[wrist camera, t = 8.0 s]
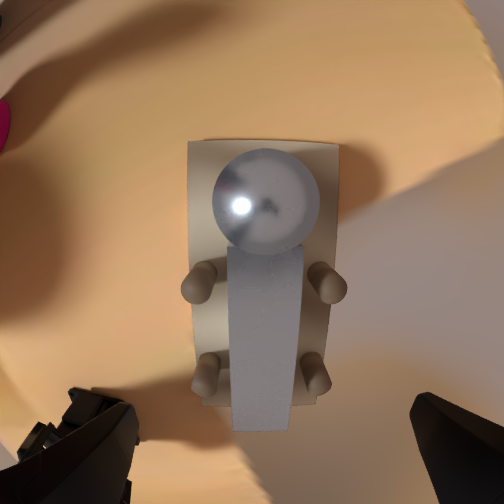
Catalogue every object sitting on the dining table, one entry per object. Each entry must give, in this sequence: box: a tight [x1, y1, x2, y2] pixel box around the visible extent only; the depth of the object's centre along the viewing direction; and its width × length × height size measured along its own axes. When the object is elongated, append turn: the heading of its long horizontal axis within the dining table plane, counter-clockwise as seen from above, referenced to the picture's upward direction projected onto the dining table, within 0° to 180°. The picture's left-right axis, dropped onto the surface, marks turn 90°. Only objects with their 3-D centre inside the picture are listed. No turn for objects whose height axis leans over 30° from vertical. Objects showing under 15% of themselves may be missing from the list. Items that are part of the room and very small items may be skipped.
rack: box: [181, 140, 347, 407], centre depth 16 cm, size 19×9×4 cm, turn 0°
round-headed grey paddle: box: [212, 148, 320, 432], centre depth 15 cm, size 16×5×4 cm, turn 0°
